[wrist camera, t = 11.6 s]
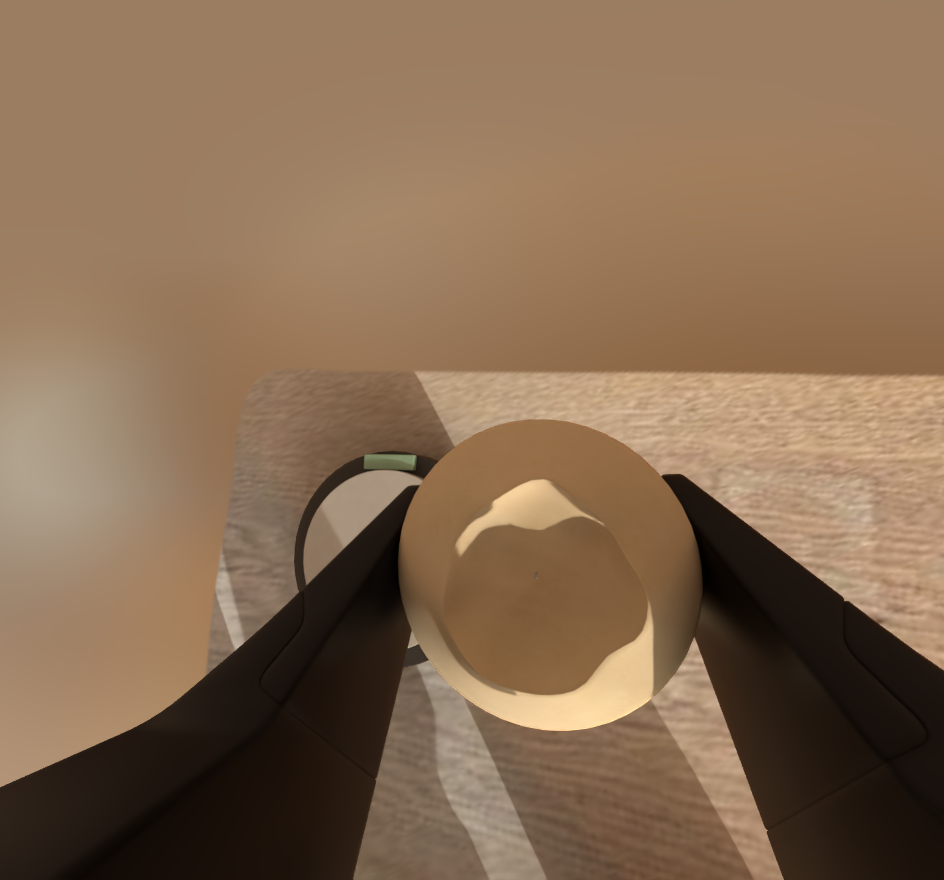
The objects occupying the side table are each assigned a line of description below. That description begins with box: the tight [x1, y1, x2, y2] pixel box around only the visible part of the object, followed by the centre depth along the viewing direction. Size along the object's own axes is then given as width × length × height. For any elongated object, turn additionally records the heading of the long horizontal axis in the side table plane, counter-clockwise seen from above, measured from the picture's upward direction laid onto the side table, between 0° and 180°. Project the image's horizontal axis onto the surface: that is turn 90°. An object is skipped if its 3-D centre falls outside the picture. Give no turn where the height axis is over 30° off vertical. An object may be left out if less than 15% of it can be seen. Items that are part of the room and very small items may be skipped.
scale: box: [294, 451, 439, 667], centre depth 20 cm, size 11×11×3 cm
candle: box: [398, 420, 703, 731], centre depth 10 cm, size 6×6×10 cm
